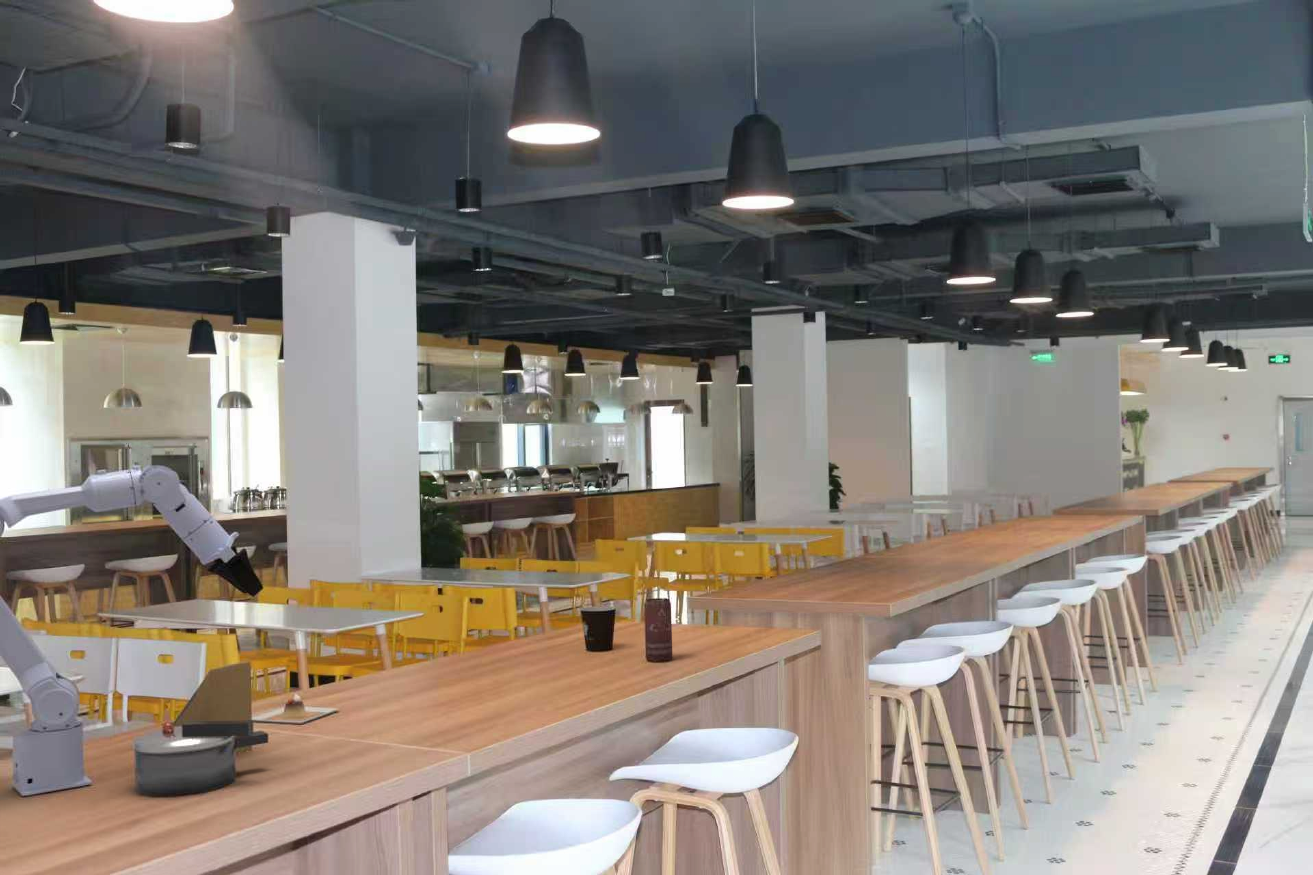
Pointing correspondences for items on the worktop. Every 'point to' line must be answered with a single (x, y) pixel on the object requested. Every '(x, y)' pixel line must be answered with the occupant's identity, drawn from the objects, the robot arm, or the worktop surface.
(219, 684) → the sandwich container
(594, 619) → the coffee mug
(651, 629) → the can
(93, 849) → the worktop surface
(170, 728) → the cooker lid
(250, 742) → the cooker pot
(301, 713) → the dessert
